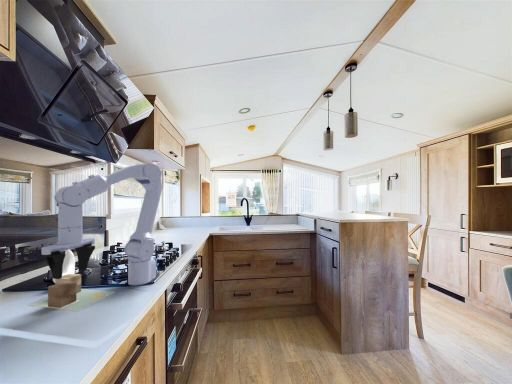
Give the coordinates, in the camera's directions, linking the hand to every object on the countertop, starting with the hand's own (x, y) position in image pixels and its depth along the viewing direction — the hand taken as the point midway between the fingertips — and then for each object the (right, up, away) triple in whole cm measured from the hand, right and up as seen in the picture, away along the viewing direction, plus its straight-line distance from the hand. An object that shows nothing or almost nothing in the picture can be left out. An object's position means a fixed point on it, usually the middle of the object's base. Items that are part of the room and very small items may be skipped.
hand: (70, 274), depth 72 cm
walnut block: (-2, -8, -1) cm, 9 cm away
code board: (-1, -9, +3) cm, 10 cm away
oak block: (-6, -8, +7) cm, 12 cm away
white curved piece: (-16, -10, +18) cm, 26 cm away
